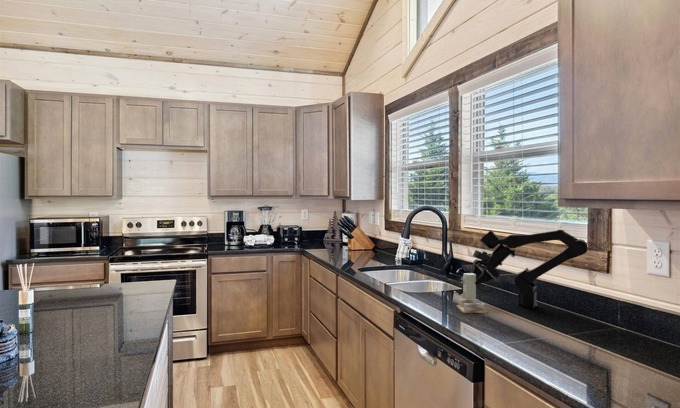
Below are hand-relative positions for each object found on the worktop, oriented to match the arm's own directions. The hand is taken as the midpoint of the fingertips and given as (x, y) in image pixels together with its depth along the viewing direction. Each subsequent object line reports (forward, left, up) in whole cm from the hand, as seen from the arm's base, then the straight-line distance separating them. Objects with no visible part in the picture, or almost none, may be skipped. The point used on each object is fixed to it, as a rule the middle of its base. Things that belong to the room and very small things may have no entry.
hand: (472, 282), depth 190 cm
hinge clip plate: (-6, +12, -9) cm, 16 cm away
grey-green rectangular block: (+1, +1, -9) cm, 9 cm away
